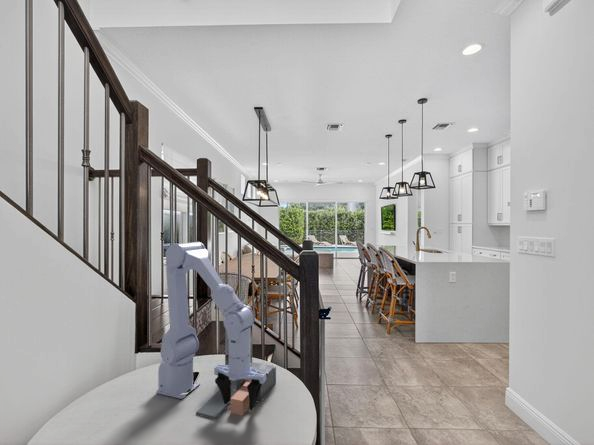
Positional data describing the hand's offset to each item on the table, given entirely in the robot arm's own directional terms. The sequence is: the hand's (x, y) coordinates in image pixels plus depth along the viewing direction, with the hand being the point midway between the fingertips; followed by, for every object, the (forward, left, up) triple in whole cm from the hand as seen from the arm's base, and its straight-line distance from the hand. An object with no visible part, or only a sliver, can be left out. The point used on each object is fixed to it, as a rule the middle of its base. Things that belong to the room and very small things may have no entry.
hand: (239, 404), depth 80 cm
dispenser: (0, +10, -1) cm, 10 cm away
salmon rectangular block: (0, +4, -2) cm, 4 cm away
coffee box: (-11, +18, -2) cm, 21 cm away
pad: (-7, +1, -1) cm, 7 cm away
